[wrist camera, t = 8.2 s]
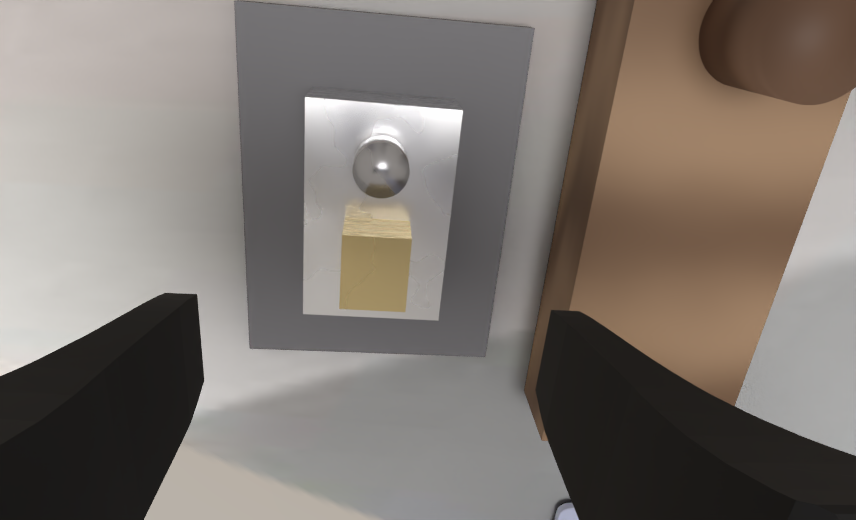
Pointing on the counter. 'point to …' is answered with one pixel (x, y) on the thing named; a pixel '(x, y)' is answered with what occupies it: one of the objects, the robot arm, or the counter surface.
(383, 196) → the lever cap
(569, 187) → the body
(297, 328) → the mat
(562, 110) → the counter surface
